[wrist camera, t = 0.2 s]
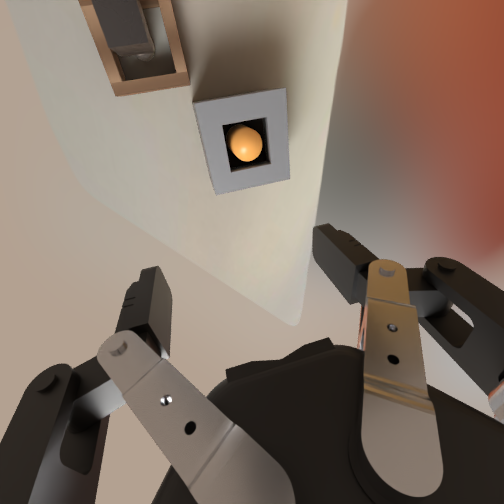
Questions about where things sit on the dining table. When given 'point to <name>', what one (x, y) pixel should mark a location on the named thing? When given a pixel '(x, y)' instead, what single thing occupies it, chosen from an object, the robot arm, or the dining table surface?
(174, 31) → the wooden square frame
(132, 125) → the dining table surface
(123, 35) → the stylus
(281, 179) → the guard box
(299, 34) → the dining table surface
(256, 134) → the button
